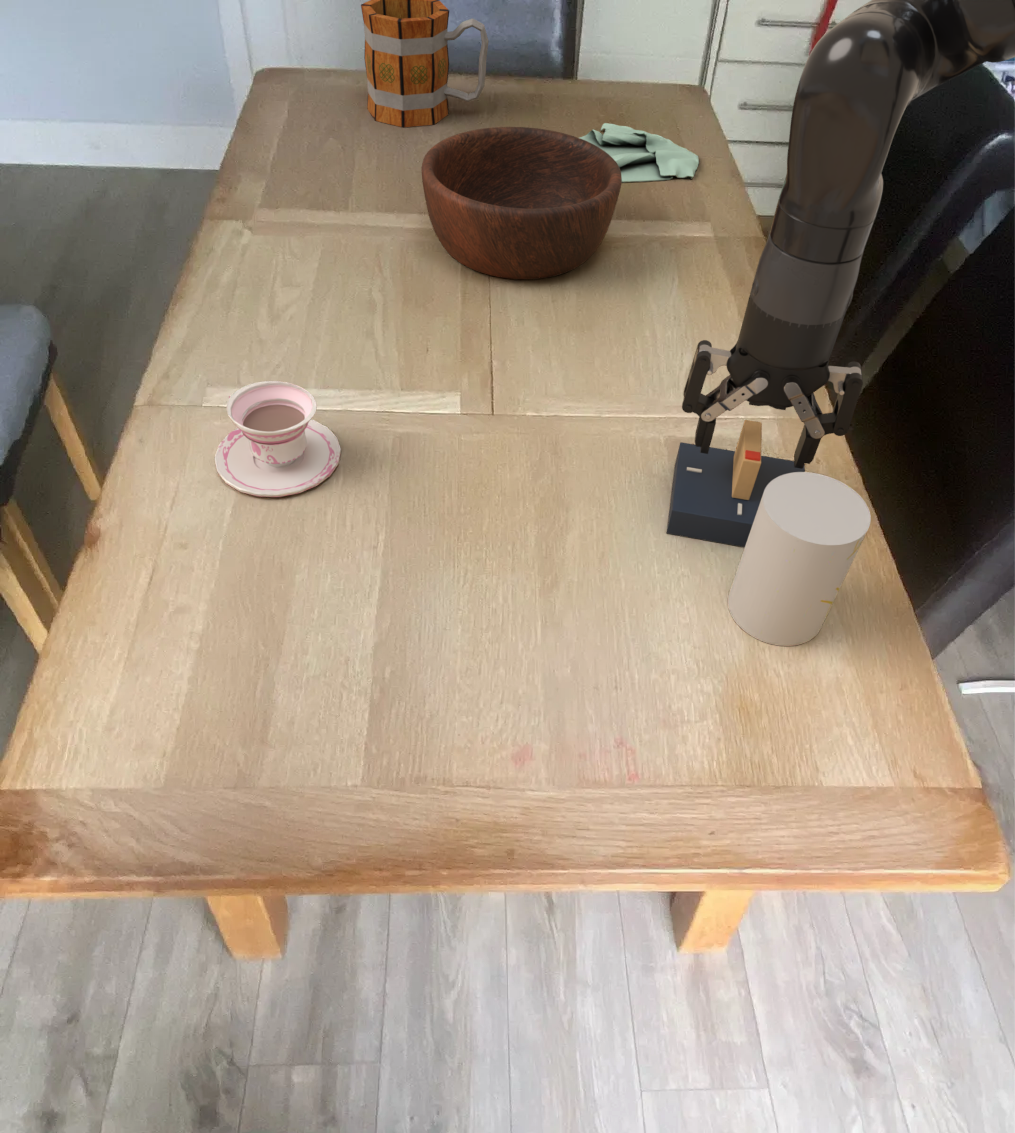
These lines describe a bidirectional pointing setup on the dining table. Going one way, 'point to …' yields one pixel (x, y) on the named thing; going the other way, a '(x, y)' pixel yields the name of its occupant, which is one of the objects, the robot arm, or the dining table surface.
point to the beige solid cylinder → (797, 557)
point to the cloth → (644, 154)
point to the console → (716, 495)
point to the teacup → (275, 441)
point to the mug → (412, 61)
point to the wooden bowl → (520, 199)
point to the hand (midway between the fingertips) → (750, 455)
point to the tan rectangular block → (747, 460)
